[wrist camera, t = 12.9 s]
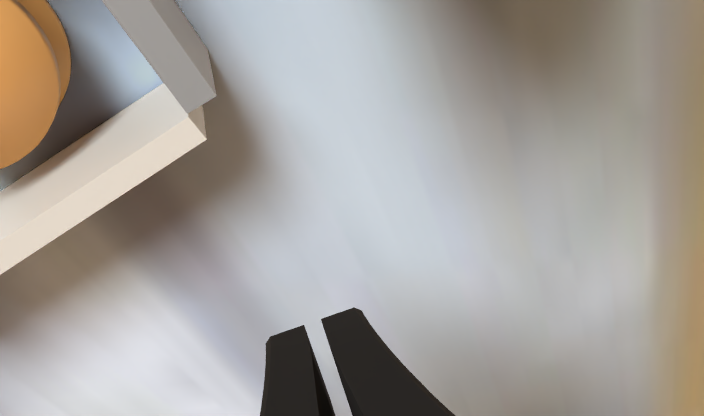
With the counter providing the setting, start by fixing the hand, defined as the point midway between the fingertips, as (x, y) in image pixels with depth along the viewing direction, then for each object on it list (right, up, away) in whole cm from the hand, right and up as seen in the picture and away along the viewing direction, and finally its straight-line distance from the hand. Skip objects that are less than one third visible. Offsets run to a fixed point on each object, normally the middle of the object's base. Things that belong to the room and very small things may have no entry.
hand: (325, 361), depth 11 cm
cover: (-9, +4, +7) cm, 12 cm away
